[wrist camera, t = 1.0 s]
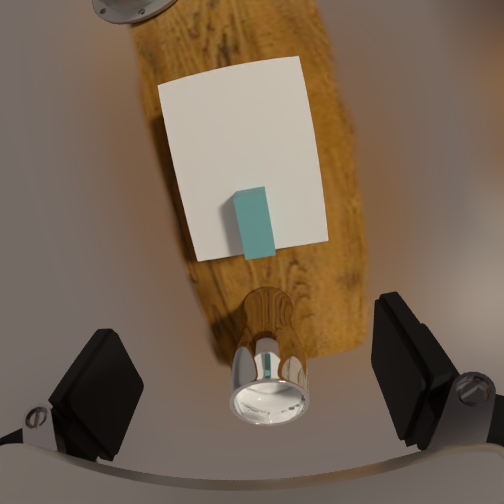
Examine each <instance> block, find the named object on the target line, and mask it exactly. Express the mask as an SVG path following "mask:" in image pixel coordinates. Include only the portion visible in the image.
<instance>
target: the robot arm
mask: <svg viewBox="0 0 504 504" xmlns="http://www.w3.org/2000/svg"><path fill="white" fill-rule="evenodd" d="M175 1H176V0H92V4H93V8H94V10H95V12H96V14H97V15H98V16H99V17H100V18H102V19H104V20H105V21H108V22H110V23H114V24H131V23H136V22H140V21H143V20H146V19H148V18H150V17H152V16H155V15H157V14H159V13H160V12H162V11H163V10H165V9H167V8H168V7H169V6H170V5H172V4H173V3H174V2H175ZM371 363H372V368H373V370H374V372H375V375H376V378H377V380H378V383H379V386H380V388H381V391H382V393H383V396H384V399H385V401H386V404H387V407H388V410H389V412H390V415H391V418H392V421H393V423H394V426H395V429H396V432H397V435H398V438H399V439H400V440H405V443H406V446H407V447H408V446H411V445H414V444H417V447H418V449H420V450H421V451H420V452H416V453H413V454H409V455H406V456H402V457H398V458H394V459H390V460H386V461H383V462H379V463H375V464H370V465H366V466H362V467H357V468H352V469H348V470H341V471H336V472H330V473H324V474H317V475H310V476H302V477H293V478H282V479H267V480H203V479H189V478H179V477H170V476H162V475H154V474H148V473H142V472H136V471H131V470H126V469H120V468H116V467H112V466H107V465H103V464H99V463H98V462H97V460H96V459H97V457H98V456H99V457H100V458H101V459H103V460H108V461H113V458H114V456H115V455H116V454H118V452H119V449H120V447H121V444H122V441H123V439H124V436H125V434H126V431H127V429H128V426H129V424H130V421H131V419H132V416H133V413H134V411H135V409H136V406H137V404H138V401H139V399H140V396H141V394H142V391H143V387H144V385H143V381H142V379H141V377H140V376H139V374H138V372H137V370H136V368H135V367H134V365H133V363H132V361H131V359H130V357H129V355H128V353H127V352H126V350H125V348H124V346H123V344H122V342H121V340H120V338H119V335H118V334H117V333H116V332H114V331H113V330H112V329H98V330H97V331H96V332H95V333H94V335H93V336H92V337H91V339H90V340H89V341H88V343H87V344H86V345H85V347H84V348H83V350H82V351H81V353H80V354H79V355H78V357H77V358H76V360H75V361H74V363H73V364H72V365H71V367H70V368H69V369H68V371H67V372H66V374H65V375H64V377H63V378H62V380H61V381H60V383H59V384H58V386H57V387H56V389H55V390H54V392H53V393H52V395H51V396H50V398H49V399H48V401H49V402H50V403H51V404H52V406H53V408H52V409H50V408H49V406H47V405H46V404H38V405H34V406H33V407H31V408H30V409H29V410H28V411H27V412H26V413H25V415H24V417H23V421H22V428H21V429H19V430H17V431H15V432H13V433H10V434H8V435H6V436H4V437H2V438H0V504H504V396H502V395H498V394H496V389H495V386H494V383H493V382H492V380H491V379H490V378H489V377H487V376H486V375H484V374H481V373H479V372H467V373H463V374H462V375H460V374H459V373H458V371H457V369H456V368H455V366H454V365H453V363H452V362H451V360H450V359H449V357H448V356H447V354H446V353H445V351H444V350H443V349H442V347H441V346H440V344H439V343H438V341H437V340H436V338H435V337H434V336H433V334H432V333H431V331H430V330H429V329H428V327H427V326H426V325H425V324H423V323H422V324H420V322H419V321H418V319H417V318H416V317H415V315H414V314H413V313H412V311H411V310H410V308H409V307H408V306H407V304H406V303H405V302H404V300H403V299H402V298H401V296H400V295H399V294H398V293H397V292H391V293H385V294H381V295H380V297H379V299H377V300H375V307H374V327H373V342H372V354H371Z"/></svg>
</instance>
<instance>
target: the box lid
mask: <svg viewBox="0 0 504 504" xmlns="http://www.w3.org/2000/svg"><path fill="white" fill-rule="evenodd" d="M158 90H159V96H160V101H161V106H162V112H163V117H164V122H165V127H166V132H167V136H168V141H169V146H170V151H171V155H172V160H173V164H174V169H175V173H176V177H177V182H178V186H179V190H180V194H181V198H182V203H183V207H184V211H185V215H186V219H187V223H188V226H189V230H190V234H191V238H192V242H193V245H194V249H195V253H196V257H197V260H198V261H204V260H211V259H217V258H223V257H229V256H236V255H242V254H245V259H246V260H248V259H254V258H260V257H267V256H273V255H276V252H275V249H279V248H286V247H292V246H298V245H304V244H311V243H317V242H323V241H328V232H327V223H326V213H325V205H324V197H323V189H322V181H321V174H320V167H319V160H318V154H317V147H316V141H315V135H314V129H313V124H312V118H311V113H310V107H309V102H308V97H307V92H306V87H305V83H304V78H303V73H302V69H301V64H300V60H299V56H295V57H286V58H278V59H270V60H263V61H257V62H251V63H245V64H240V65H235V66H230V67H225V68H220V69H216V70H211V71H207V72H203V73H199V74H195V75H191V76H188V77H184V78H181V79H177V80H174V81H170V82H167V83H164V84H161V85H158Z"/></svg>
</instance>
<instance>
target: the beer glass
mask: <svg viewBox="0 0 504 504" xmlns="http://www.w3.org/2000/svg"><path fill="white" fill-rule="evenodd" d="M292 312H293V305H292V302H291V299H290V298H289V296H288V295H287V294H286V293H285V292H283V291H282V290H280V289H277V288H273V287H263V288H259V289H256V290H254V291H253V292H251V293H250V294H249V295H248V296H247V297H246V299H245V301H244V303H243V315H244V320H245V324H244V328H243V330H242V333H241V335H240V338H239V340H238V343H237V345H236V348H235V352H234V355H233V360H232V365H231V375H230V402H229V404H230V408H231V410H232V412H233V413H234V414H235V415H236V416H237V417H238V418H240V419H241V420H243V421H245V422H248V423H251V424H254V425H261V426H275V425H282V424H286V423H289V422H292V421H294V420H296V419H297V418H299V417H300V416H302V415H303V414H304V413H305V411H306V410H307V409H308V406H309V391H308V390H309V389H308V372H307V364H306V360H305V355H304V352H303V349H302V346H301V343H300V341H299V339H298V337H297V334H296V332H295V330H294V328H293V325H292V322H291V317H292Z"/></svg>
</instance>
